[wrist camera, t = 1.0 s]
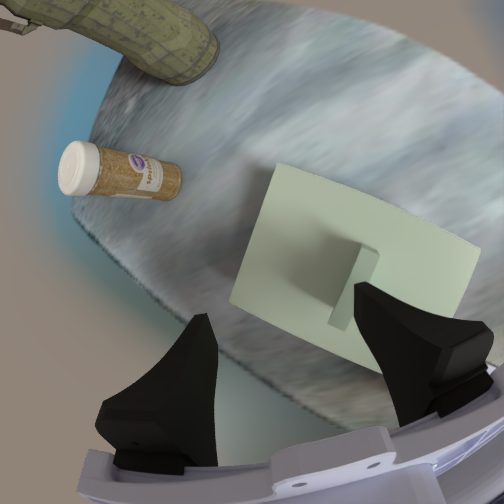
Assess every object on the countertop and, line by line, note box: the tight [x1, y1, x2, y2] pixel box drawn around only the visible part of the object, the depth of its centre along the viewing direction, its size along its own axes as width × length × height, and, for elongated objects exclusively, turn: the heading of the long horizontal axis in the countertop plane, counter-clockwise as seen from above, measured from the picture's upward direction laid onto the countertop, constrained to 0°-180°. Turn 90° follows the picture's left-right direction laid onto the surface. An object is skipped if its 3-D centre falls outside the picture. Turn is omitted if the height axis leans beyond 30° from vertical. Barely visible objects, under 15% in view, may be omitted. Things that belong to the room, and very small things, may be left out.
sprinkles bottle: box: [58, 141, 182, 201], centre depth 24 cm, size 5×5×14 cm
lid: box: [228, 162, 481, 374], centre depth 17 cm, size 17×12×5 cm
